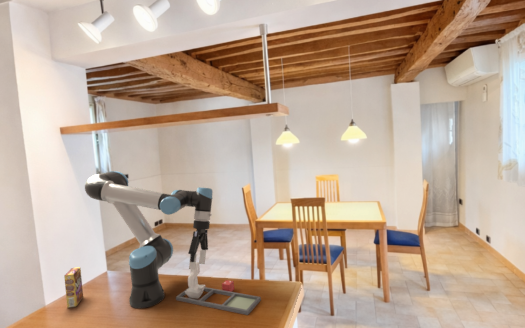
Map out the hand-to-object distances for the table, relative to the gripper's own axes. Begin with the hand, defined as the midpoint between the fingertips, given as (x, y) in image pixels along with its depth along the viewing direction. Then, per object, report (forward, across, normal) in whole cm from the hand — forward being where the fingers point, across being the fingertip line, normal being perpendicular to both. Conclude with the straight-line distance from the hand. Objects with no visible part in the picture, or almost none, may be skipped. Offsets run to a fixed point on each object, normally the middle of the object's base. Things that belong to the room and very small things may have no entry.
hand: (197, 266), depth 145 cm
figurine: (+13, 0, -1) cm, 13 cm away
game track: (+13, -4, -12) cm, 18 cm away
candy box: (+22, -4, +55) cm, 59 cm away
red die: (+10, +5, -15) cm, 19 cm away
